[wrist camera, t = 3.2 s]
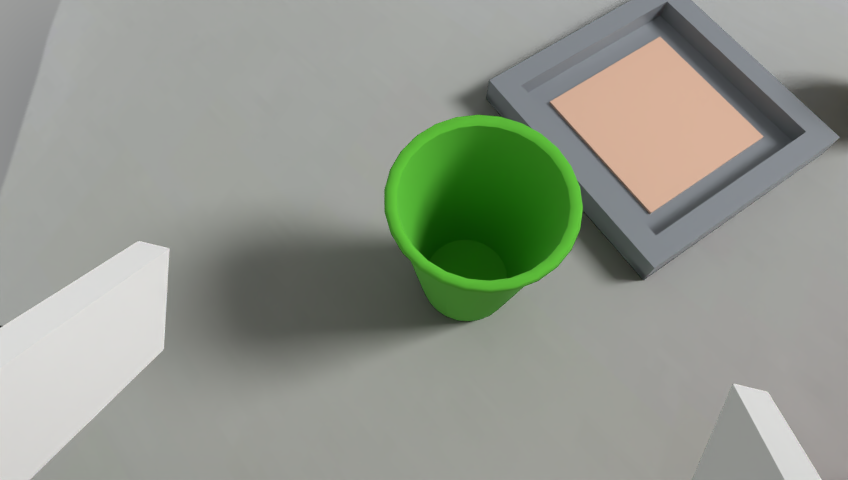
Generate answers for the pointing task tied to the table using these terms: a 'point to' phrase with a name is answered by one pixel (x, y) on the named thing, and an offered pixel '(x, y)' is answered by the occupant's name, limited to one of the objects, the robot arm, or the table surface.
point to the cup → (481, 211)
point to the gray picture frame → (661, 124)
